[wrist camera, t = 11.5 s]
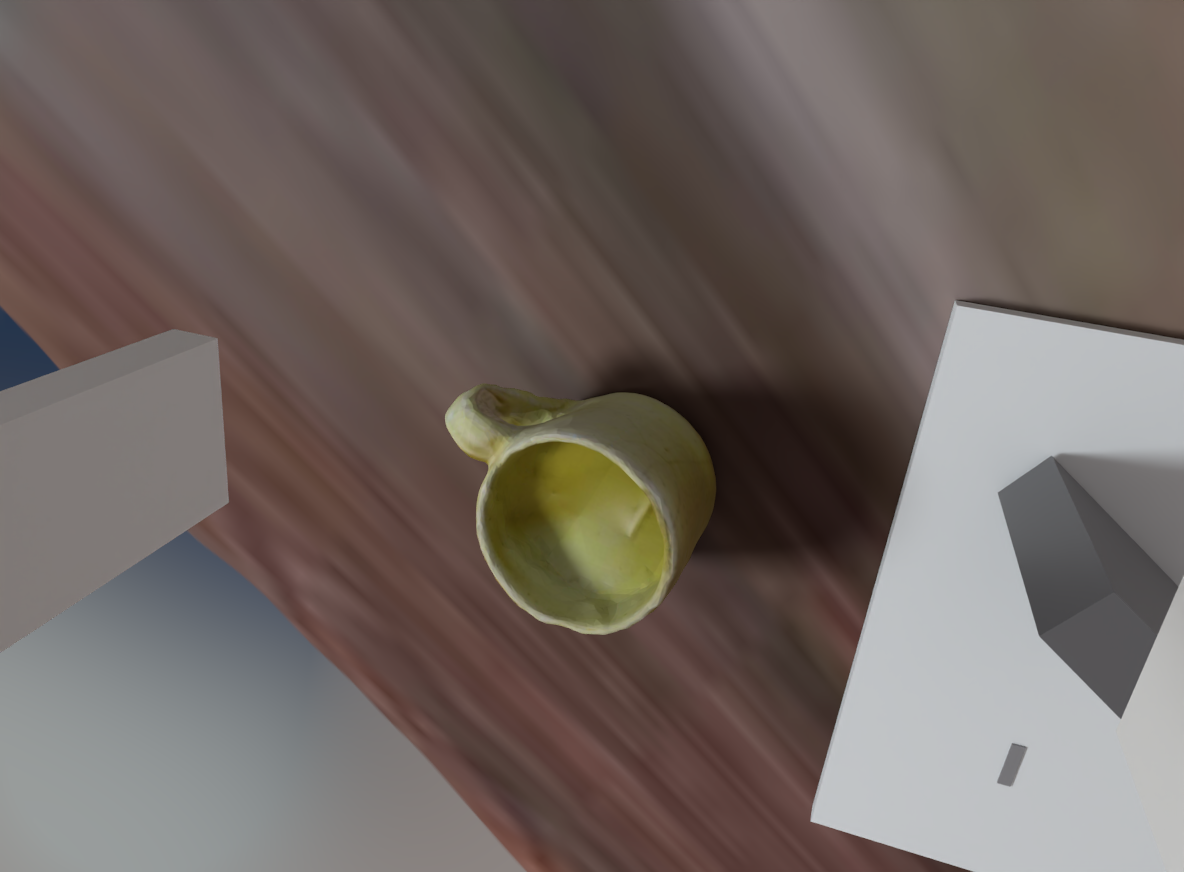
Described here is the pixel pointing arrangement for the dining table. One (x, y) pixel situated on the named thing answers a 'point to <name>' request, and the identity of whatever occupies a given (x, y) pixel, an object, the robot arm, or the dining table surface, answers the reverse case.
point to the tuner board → (1005, 607)
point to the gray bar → (1085, 581)
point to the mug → (585, 500)
